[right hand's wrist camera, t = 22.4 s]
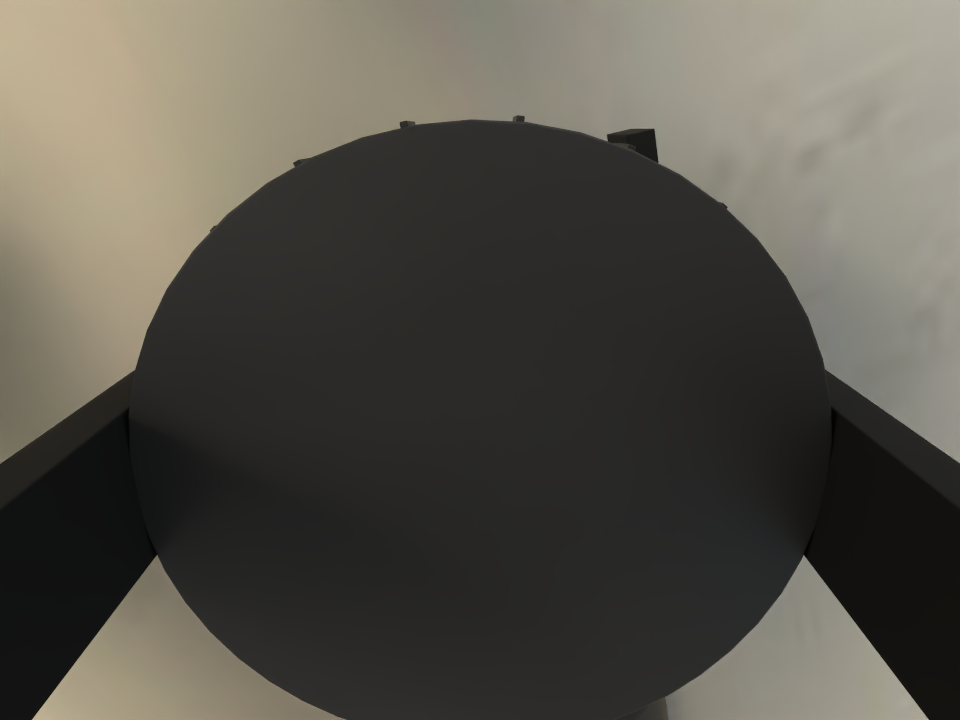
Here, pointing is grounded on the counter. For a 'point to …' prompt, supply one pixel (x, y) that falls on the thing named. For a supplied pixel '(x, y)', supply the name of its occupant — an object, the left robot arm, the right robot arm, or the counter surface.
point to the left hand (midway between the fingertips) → (447, 173)
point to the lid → (480, 427)
